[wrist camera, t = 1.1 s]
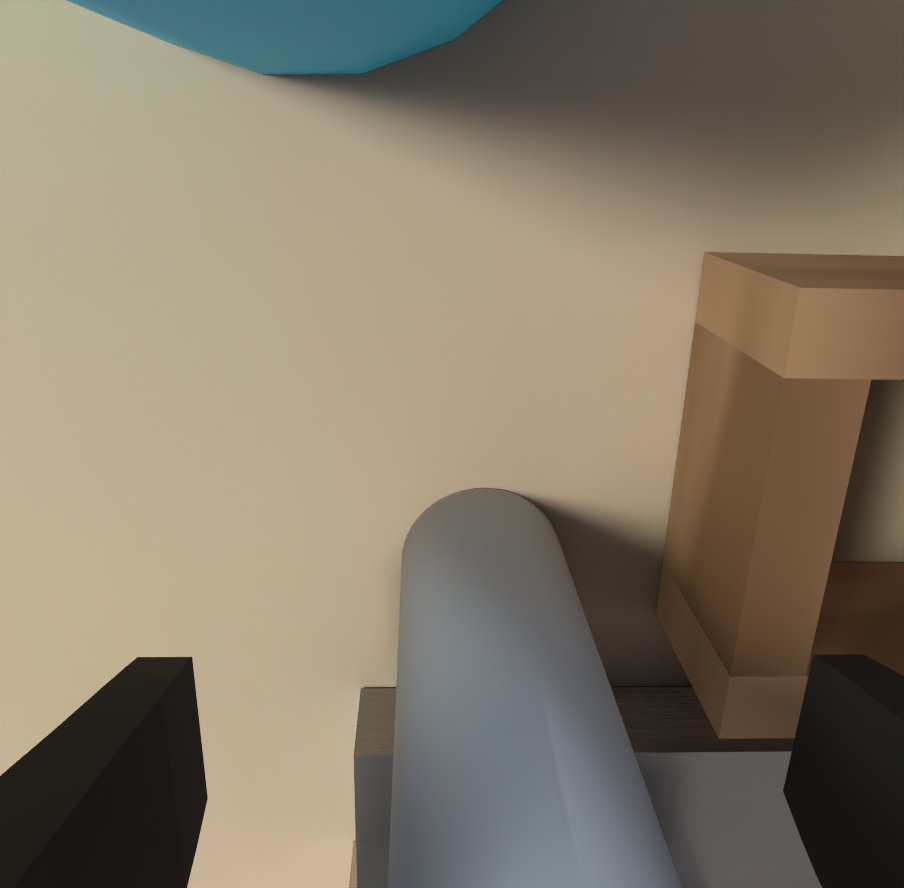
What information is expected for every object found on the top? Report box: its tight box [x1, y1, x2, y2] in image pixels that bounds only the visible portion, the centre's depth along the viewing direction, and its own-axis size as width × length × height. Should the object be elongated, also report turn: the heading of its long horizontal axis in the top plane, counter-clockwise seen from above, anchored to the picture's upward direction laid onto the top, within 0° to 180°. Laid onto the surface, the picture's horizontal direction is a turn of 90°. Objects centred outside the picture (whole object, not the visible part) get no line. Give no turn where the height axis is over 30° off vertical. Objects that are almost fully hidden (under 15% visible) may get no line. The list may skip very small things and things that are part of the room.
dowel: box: [388, 488, 682, 888], centre depth 9 cm, size 3×3×9 cm
